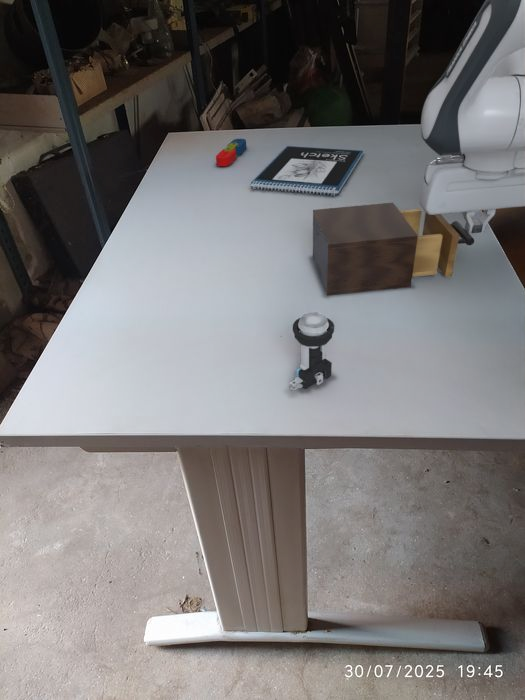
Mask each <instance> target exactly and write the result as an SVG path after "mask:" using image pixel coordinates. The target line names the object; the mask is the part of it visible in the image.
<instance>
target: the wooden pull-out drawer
mask: <svg viewBox="0 0 525 700" xmlns="http://www.w3.org/2000/svg"><path fill="white" fill-rule="evenodd" d="M422 210H423V209H421V208H415V209H405V210H399V211H400V213H401V214H402V215H403V217H404V218H405V219H406V221H407V222H408V223H409V225H410V226H411V227H412V229H413V230H414V231H415V233H416V234H417V235H418V239H417V246H416V253H415V260H414V268H413V275H412V278H414V277H424V276H425V277H426V276H435V275H437V273H438V270H439V271H440V273H441V274H442V275H443V276H444V278H450V277H453V272H454V266H455V261H456V256H457V250H458V246H459V245H462V244H465V245H466V246H472V245H474V244H475V238H474V237H473V236H472V234H469V233H468V232H467V231H466V230H465V227H463V226H462V224H461V223H460V222H459V221H458V220H454V221H452V222H451V223H450V222H449V221H448V220H447V219H446V218H445V217H444V216H443V214H435V215H429V214H427V213H426V212H425V211H424V212H425V213H424V220H423V227H422V234H421V235H419V234H420V227H421V218H422V213H423V212H422Z"/></svg>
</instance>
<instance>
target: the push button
mask: <svg viewBox="0 0 525 700" xmlns="http://www.w3.org/2000/svg"><path fill="white" fill-rule="evenodd" d="M292 332H293V334H294V339H295V340H296V341H297V342H298V343H299V344H300V365H299V366H298V367H297V368H296V369H295V378H294V379H292V380H291V381H290V382H289V385H291V386H290V387H289V389H290V390H291V391H293V392H294V391H296V390H298V389H301V388H303V389H304V390H307V389H308V388H310V387H312V386H313V385H315V384H316V385H317V386H320V384H322V383H323V382H324V379H329V378H330V377H332V363H333V362H332V361H330V360H329V359H327V357H326V356H327V355H326V345H327V344H328V343H329V342H330V340H332V339H333V334H334V332H335V324H334V322H333V321H332V320H331V319H330V318H329V317H327V316H326V315H324V314H323V313H320V312H314V311H313V312H306V313H304V314H303V315H302V316H300V317H299V318H297V319H295V321H293V324H292Z"/></svg>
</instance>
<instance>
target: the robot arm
mask: <svg viewBox="0 0 525 700" xmlns="http://www.w3.org/2000/svg"><path fill="white" fill-rule="evenodd" d="M420 132H421V133H420V134H421V138H422V140H423V141H424V143H425V144H426V145H427V146H428V147H429V148H430V149H431V150H432V151H433V152H434V153H436V154H437V155H438V156H436V157H435V159H433V160H431V161H430V162H428V164H426V166H425V169H424V177H423V180H424V183H423V185H422V190H421V194H420V199H419V206H420V207H421V208H422V210H423V211H424V212H426V213H427V214H429V215H435V214H441V215H443V214H444V215H446V214H457V213H461V215H462V216H463V218H464V221H465V225H464V229H465V230H466V231H467V232H468V233H469V234H470V235H472V234H481V233H485V230H486V226H487V224H488V223H489V222H490V221H491V219H492V218H493V217H495V215H496V211H497V210H499V209H509V208H510V209H511V208H521V207H525V0H485V1H484V2H483V4H482V5H481V7H480V9H479V10H478V12H477V14H476V16H475V17H474V19H473V21H472V22H471V24H470V27H469V28H468V30H467V31H466V34H465V35H464V37H463V39H462V41H461V42H460V44H459V46H458V48H457V50H456V51H455V52H454V55H453V56H452V58H451V60H450V62H449V63H448V65H447V67H446V69H445V70H444V72H443V74H442V75H441V77H439V79H438V80H437V81H436V82H435V84H434V85H433V86H432V87H431V88H430V90H429V91H428V93H427V95H426V98H425V100H424V103H423V106H422V110H421V116H420ZM477 211H478V212H479V211H483V212H482V214H481V215H480V216H479V218H478V219H472V217H475V214H476V212H477Z"/></svg>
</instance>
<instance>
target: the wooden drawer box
mask: <svg viewBox="0 0 525 700" xmlns="http://www.w3.org/2000/svg"><path fill="white" fill-rule="evenodd" d="M400 211H401V210H399V208H398V207H397V206H396V204H395V203H394V202H383V203H373V204H372V203H371V204H362V205H360V204H359V205H353V206H352V205H351V206H350V205H349V206H340V207H339V206H338V207H330V208H318V209H317V208H316V209H312V260H313V262H314V265H315V268H316V271H317V274H318V275H319V278H320V282H321V284H322V286H323V289H324V292H325V295H326V296H335V295H336V296H337V295H345V294H346V295H347V294H355V293H364V292H365V293H366V292H374V291H375V292H376V291H385V290H394V289H406V288H411V287H412V280H413V277H412V275H413V268H414V260H415V253H416V246H417V239H418V236H419V234H418V235H417V234H416V233H415V231H414V230H413V229H412V227H411V226H410V225H409V223H408V222H407V221H406V219H405V218H404V217H403V215H402V214H401V213H400Z"/></svg>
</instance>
